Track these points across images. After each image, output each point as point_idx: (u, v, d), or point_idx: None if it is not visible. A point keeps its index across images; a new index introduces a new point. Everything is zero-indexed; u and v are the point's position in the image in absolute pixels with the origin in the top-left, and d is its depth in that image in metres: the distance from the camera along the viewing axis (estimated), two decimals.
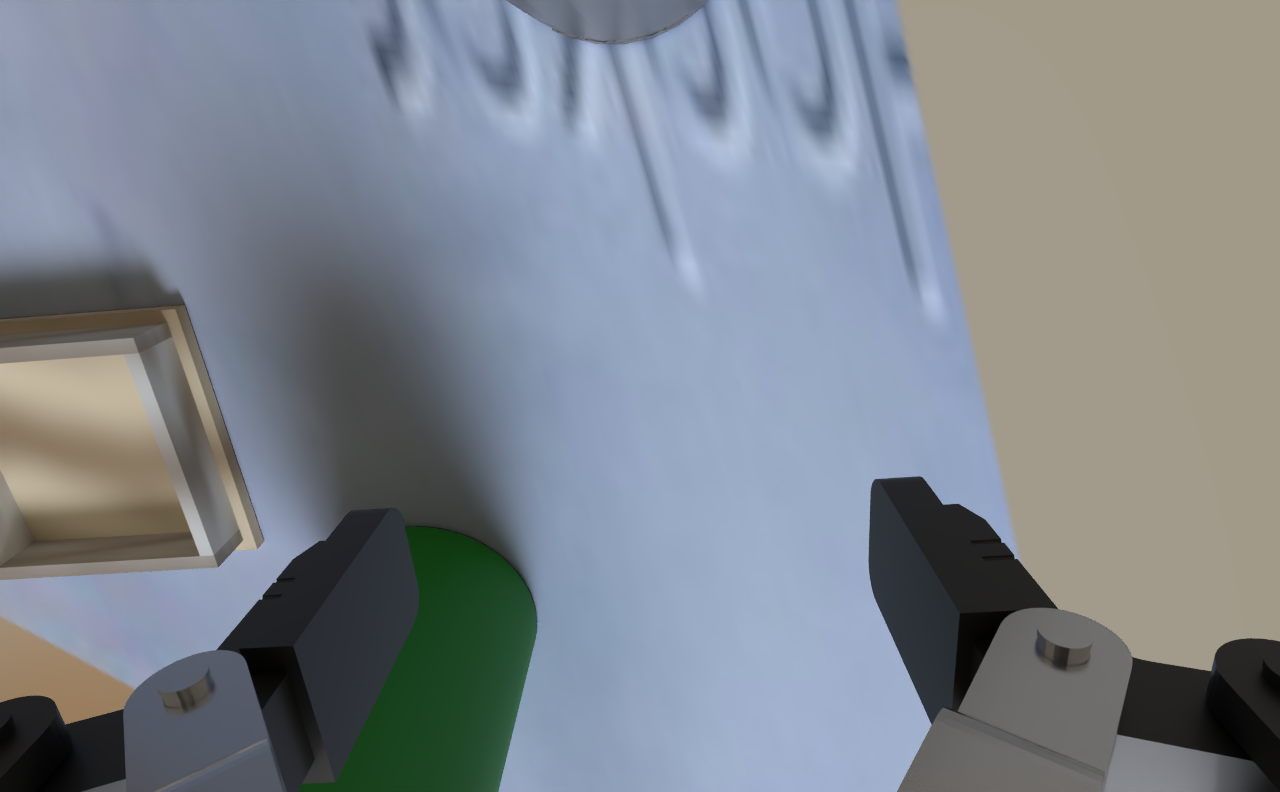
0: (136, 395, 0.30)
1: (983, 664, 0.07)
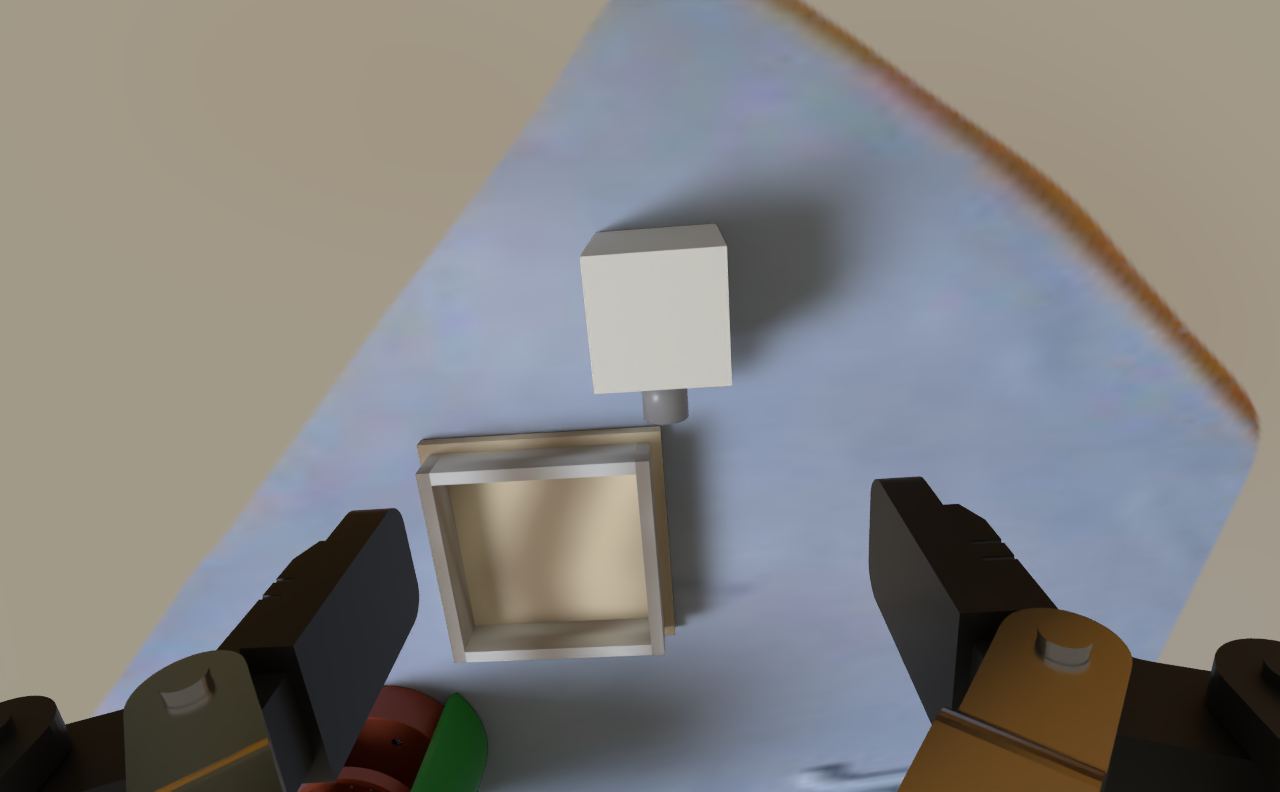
0: (601, 590, 0.36)
1: (983, 664, 0.07)
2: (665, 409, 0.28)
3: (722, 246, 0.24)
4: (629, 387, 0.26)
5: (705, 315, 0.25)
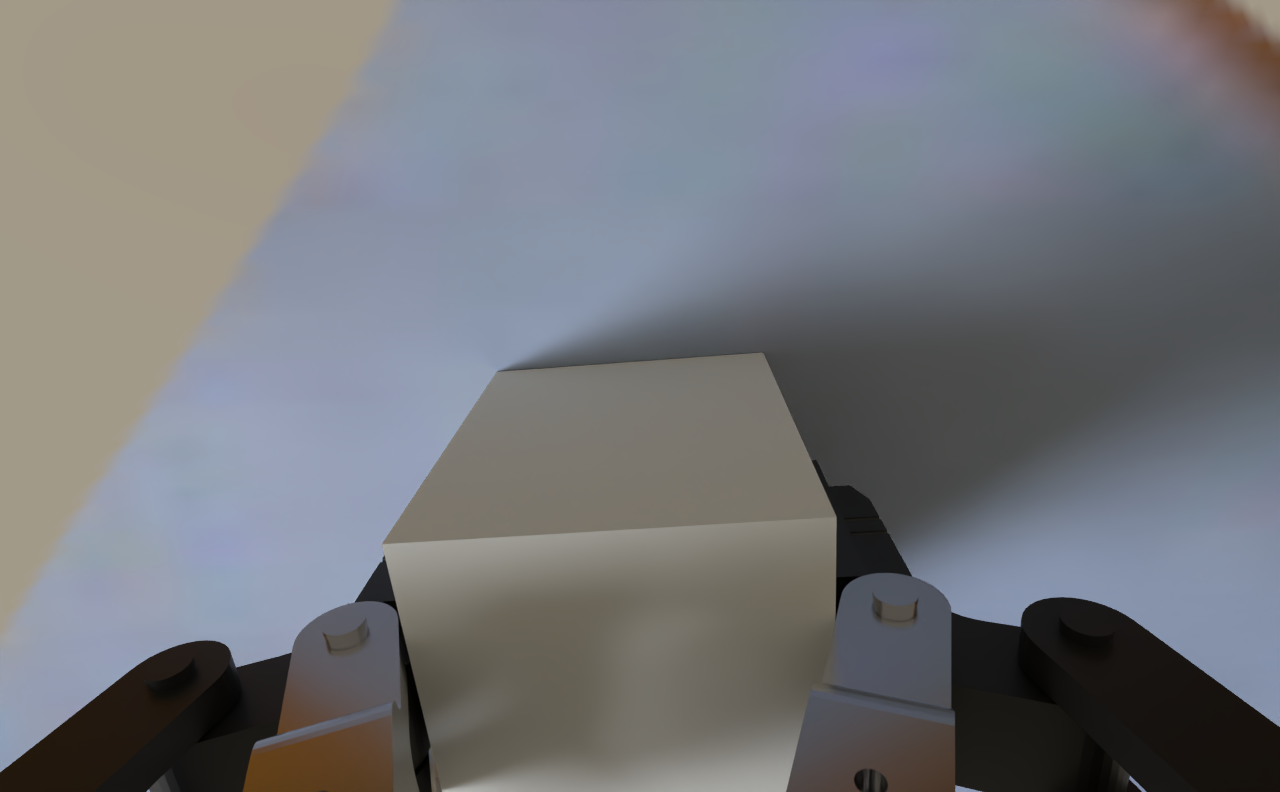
0: None
1: None
2: None
3: (822, 517, 0.08)
4: None
5: (764, 693, 0.09)
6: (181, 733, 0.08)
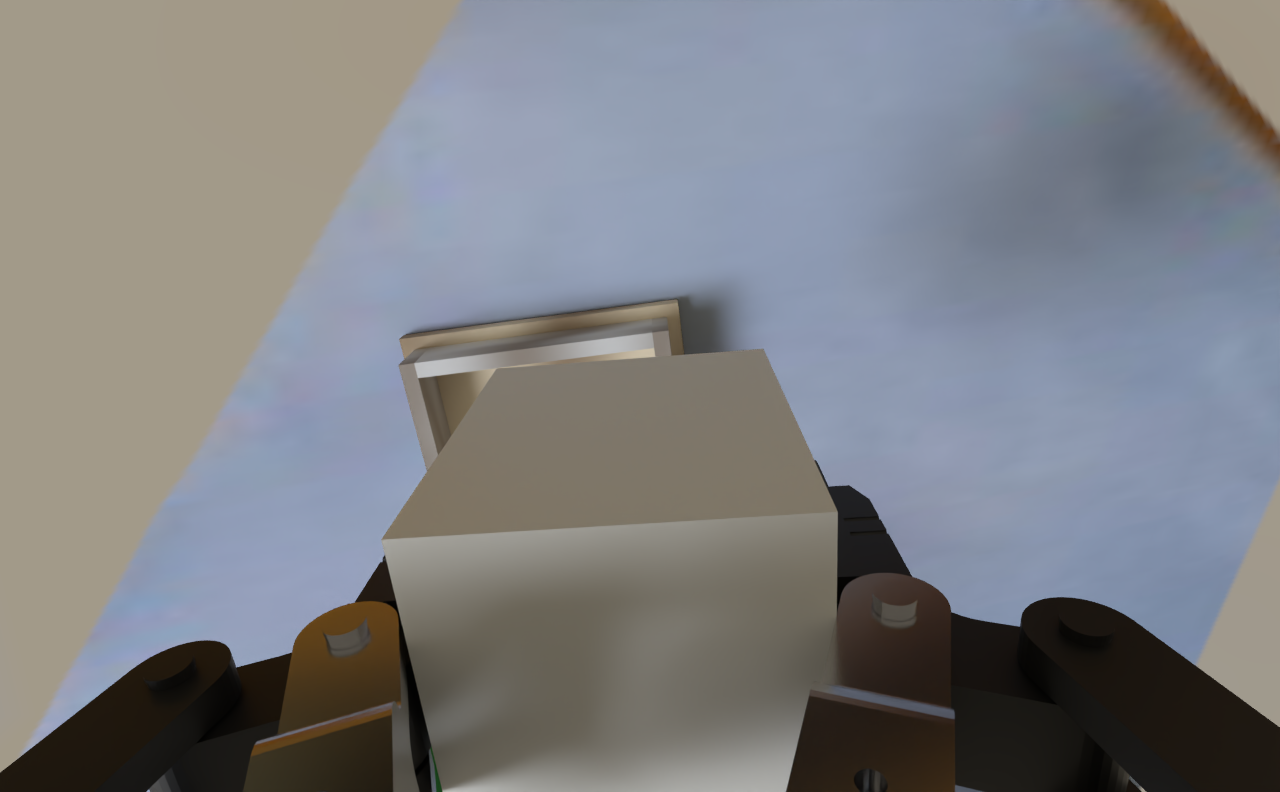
0: None
1: None
2: None
3: (823, 511, 0.08)
4: None
5: (765, 689, 0.09)
6: (181, 733, 0.08)
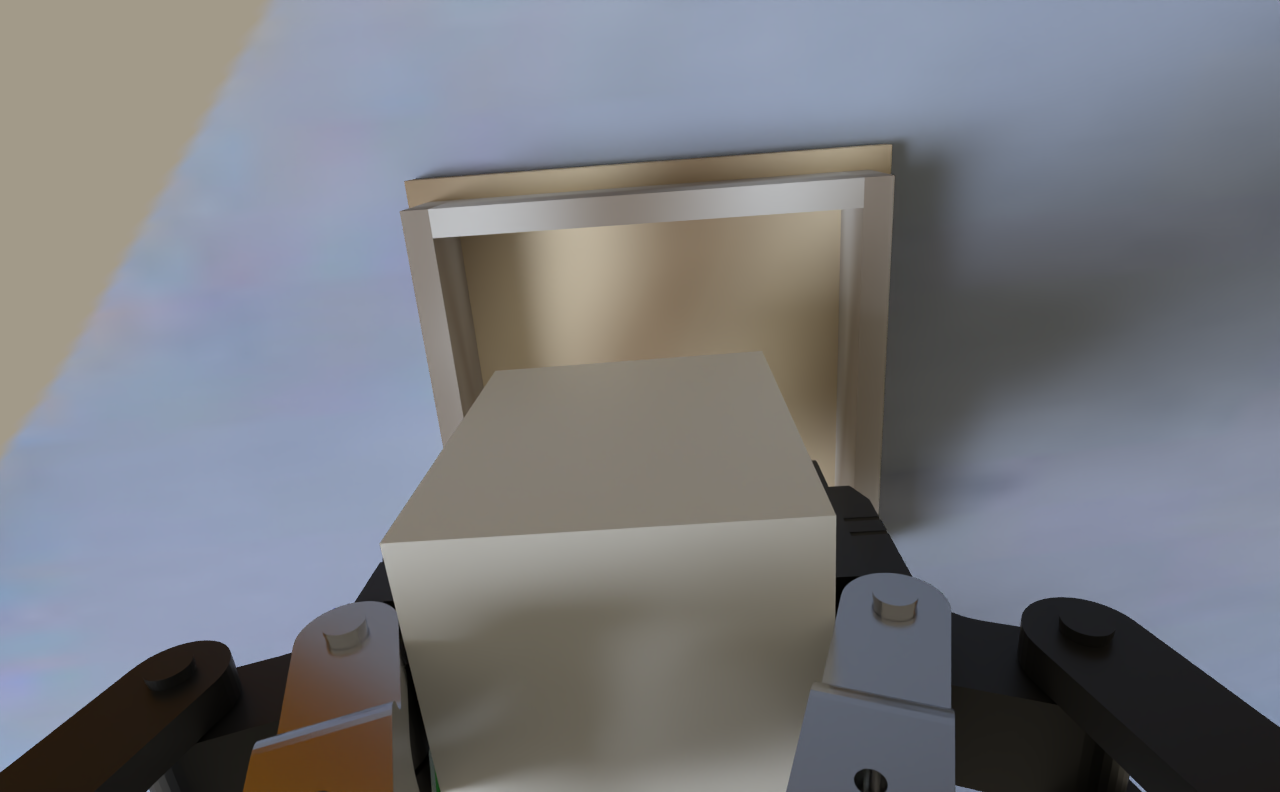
0: None
1: None
2: None
3: (822, 515, 0.08)
4: None
5: (764, 693, 0.09)
6: (181, 733, 0.08)
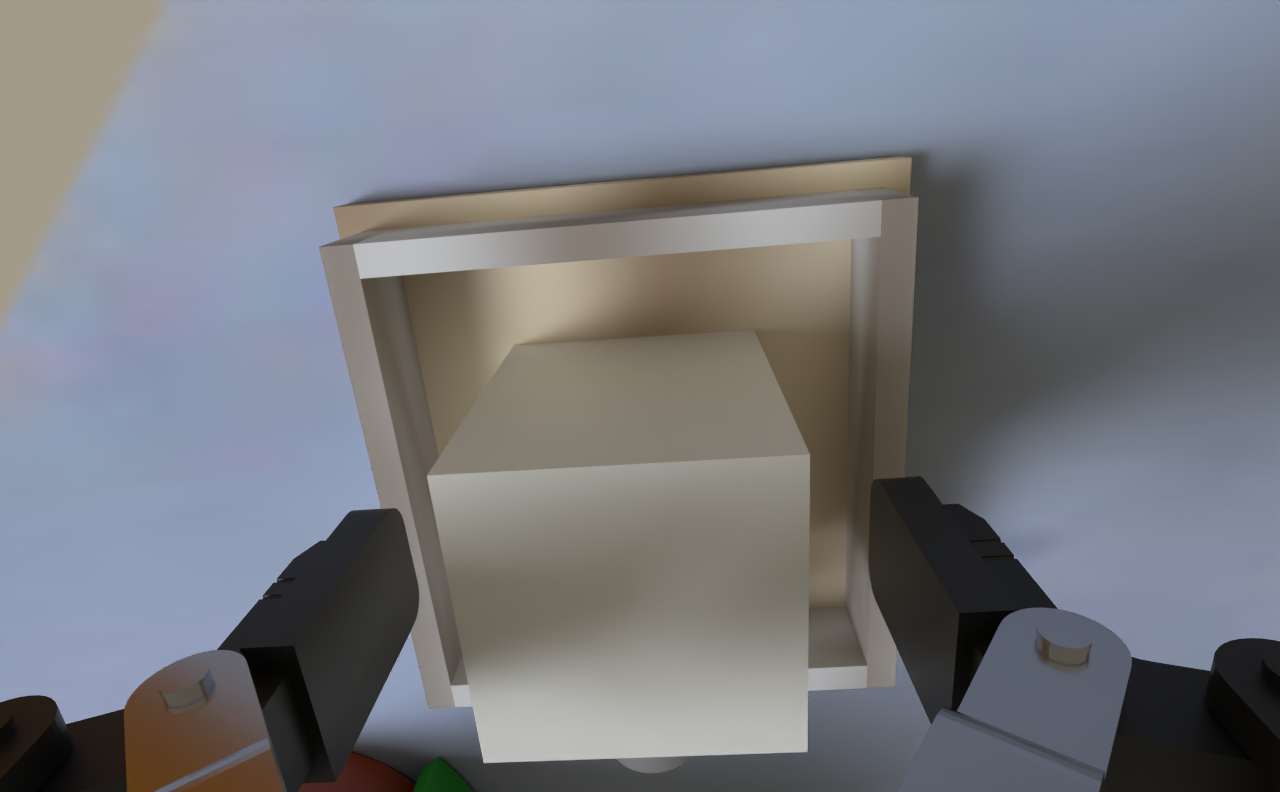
0: None
1: (982, 664, 0.07)
2: None
3: (798, 454, 0.09)
4: (565, 752, 0.11)
5: (748, 609, 0.10)
6: None
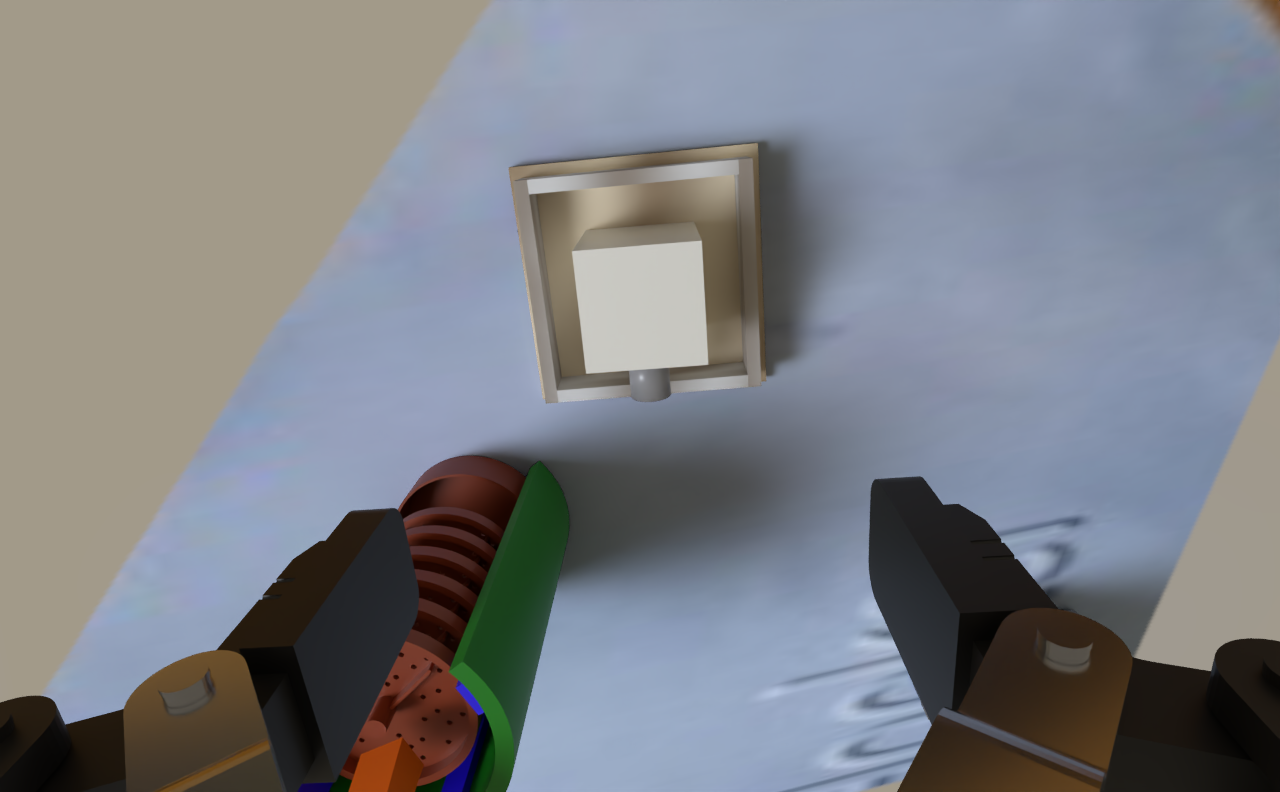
0: None
1: (983, 664, 0.07)
2: (650, 388, 0.31)
3: (698, 241, 0.28)
4: (617, 367, 0.29)
5: (683, 302, 0.28)
6: None
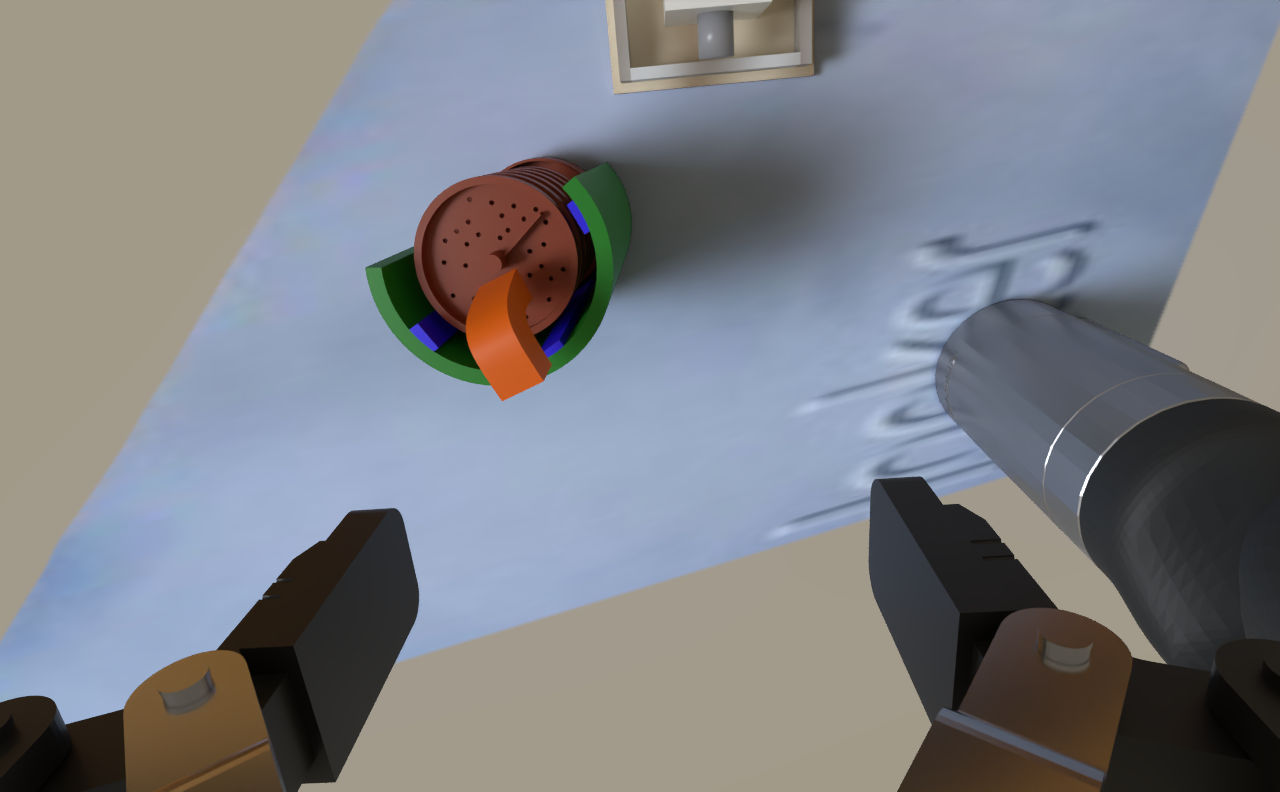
0: (749, 24, 0.39)
1: (983, 664, 0.07)
2: (717, 41, 0.36)
3: None
4: (692, 4, 0.34)
5: None
6: None
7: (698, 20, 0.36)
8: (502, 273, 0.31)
